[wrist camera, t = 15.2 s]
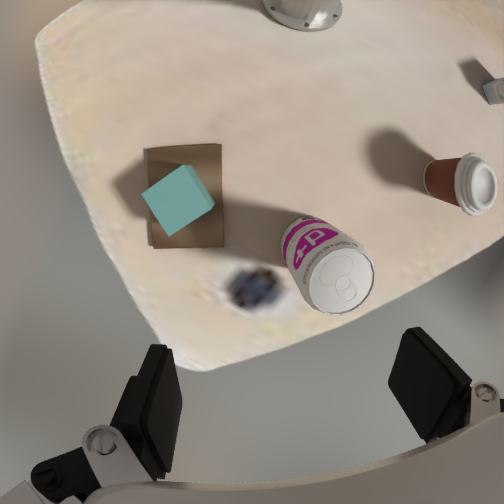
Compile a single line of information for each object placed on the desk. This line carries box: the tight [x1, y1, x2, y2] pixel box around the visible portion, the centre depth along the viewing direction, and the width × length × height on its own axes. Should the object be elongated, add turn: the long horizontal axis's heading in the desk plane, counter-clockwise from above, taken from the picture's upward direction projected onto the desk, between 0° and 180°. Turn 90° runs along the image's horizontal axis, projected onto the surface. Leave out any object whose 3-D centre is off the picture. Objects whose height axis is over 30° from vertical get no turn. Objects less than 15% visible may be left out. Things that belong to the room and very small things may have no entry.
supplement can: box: [280, 216, 375, 315], centre depth 33 cm, size 8×8×15 cm
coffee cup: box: [423, 153, 497, 216], centre depth 33 cm, size 9×9×12 cm
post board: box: [148, 144, 224, 249], centre depth 35 cm, size 14×10×6 cm
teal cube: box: [141, 165, 215, 236], centre depth 34 cm, size 6×6×6 cm
